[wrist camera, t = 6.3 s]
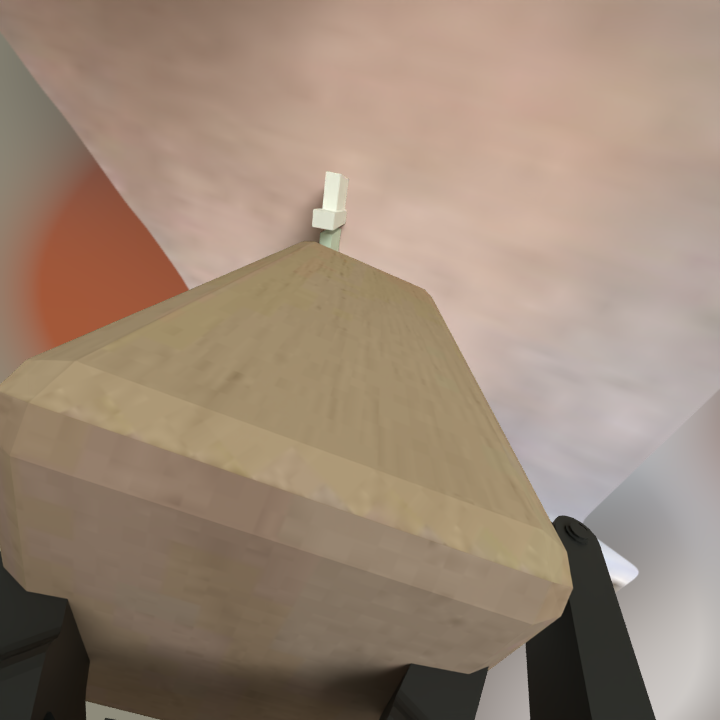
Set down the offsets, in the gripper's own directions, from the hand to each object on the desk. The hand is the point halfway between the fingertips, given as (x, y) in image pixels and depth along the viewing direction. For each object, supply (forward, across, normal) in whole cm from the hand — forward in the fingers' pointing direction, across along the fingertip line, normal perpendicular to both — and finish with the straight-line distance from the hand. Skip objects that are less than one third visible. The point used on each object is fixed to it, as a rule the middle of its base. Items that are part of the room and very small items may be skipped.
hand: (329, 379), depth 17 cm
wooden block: (+9, 0, 0) cm, 9 cm away
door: (+28, -5, -5) cm, 29 cm away
